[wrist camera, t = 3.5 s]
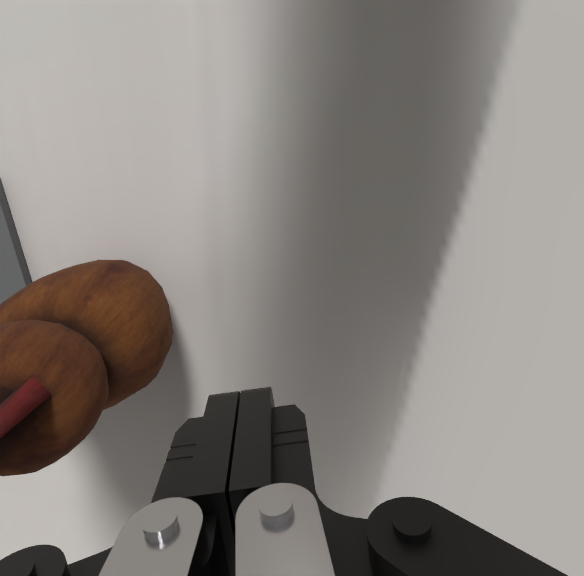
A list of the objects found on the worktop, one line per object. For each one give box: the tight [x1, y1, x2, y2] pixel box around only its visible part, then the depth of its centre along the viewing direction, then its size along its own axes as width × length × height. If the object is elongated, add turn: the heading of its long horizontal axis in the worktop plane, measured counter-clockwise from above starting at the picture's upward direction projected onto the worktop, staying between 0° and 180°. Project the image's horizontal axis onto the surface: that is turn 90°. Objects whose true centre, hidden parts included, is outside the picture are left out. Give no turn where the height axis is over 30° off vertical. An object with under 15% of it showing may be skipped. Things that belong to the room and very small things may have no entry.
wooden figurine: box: [0, 260, 173, 476], centre depth 16 cm, size 7×6×15 cm
